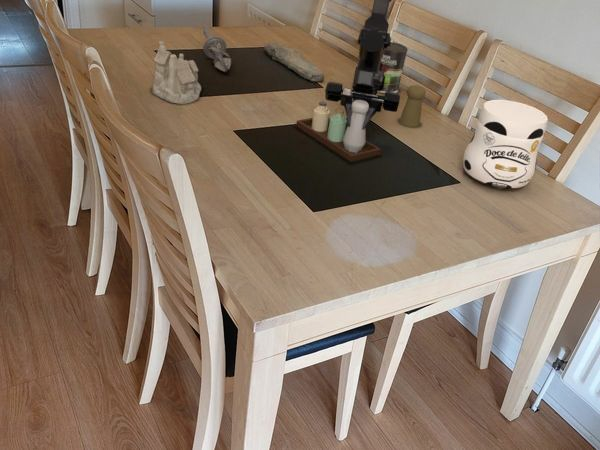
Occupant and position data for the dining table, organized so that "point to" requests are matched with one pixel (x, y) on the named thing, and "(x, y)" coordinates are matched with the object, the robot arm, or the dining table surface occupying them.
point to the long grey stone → (294, 61)
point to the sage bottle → (337, 126)
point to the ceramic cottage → (175, 77)
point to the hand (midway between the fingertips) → (356, 127)
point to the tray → (338, 147)
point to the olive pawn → (413, 106)
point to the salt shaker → (356, 127)
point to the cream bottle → (320, 117)
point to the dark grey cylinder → (393, 66)
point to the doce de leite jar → (505, 144)
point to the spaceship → (216, 50)
